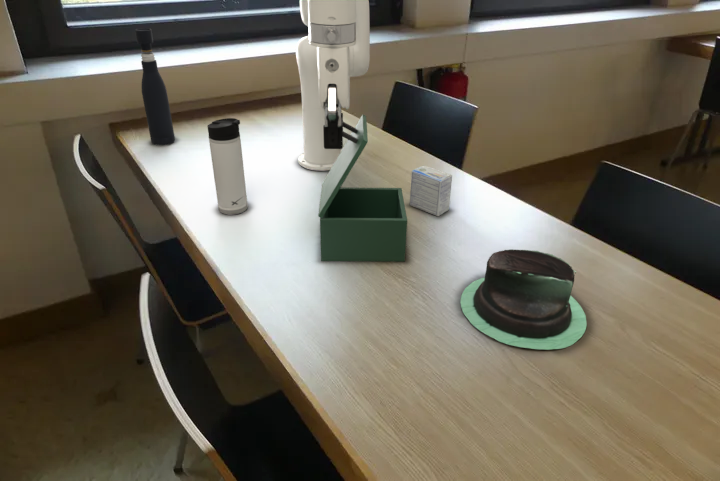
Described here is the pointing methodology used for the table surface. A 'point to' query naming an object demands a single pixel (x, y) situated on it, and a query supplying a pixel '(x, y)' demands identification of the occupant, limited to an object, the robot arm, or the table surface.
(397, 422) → the table surface
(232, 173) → the travel mug
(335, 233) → the chest
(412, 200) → the medicine box
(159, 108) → the dark blue water bottle
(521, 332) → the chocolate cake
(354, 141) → the lid
